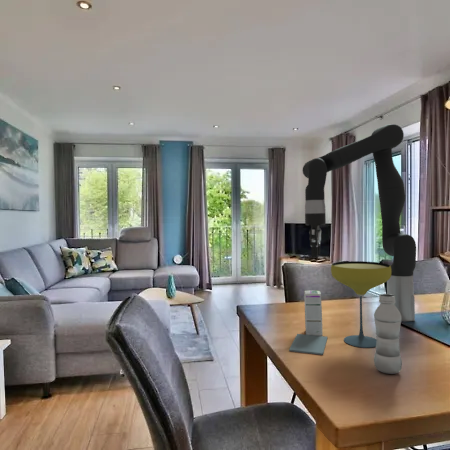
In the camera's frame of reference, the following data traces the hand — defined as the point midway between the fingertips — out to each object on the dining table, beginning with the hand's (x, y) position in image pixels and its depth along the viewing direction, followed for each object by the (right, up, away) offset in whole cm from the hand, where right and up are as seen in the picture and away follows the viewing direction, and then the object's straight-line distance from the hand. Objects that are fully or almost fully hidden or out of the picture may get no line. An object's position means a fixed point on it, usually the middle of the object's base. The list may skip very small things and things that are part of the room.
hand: (315, 255), depth 132 cm
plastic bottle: (+8, -27, -41) cm, 50 cm away
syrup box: (-3, -26, -10) cm, 28 cm away
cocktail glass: (+10, -26, -19) cm, 34 cm away
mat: (-7, -27, -20) cm, 34 cm away
